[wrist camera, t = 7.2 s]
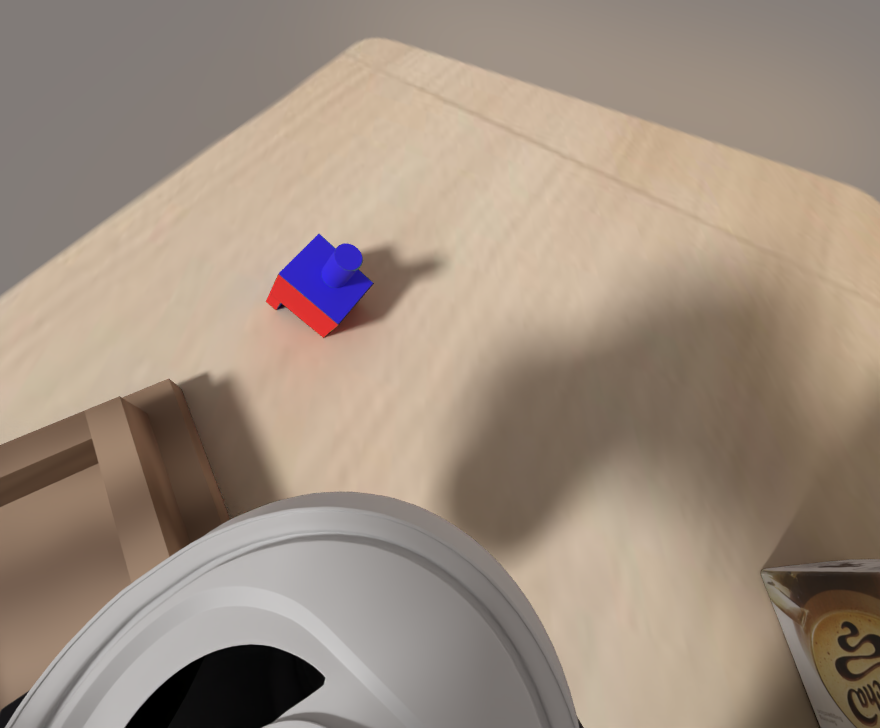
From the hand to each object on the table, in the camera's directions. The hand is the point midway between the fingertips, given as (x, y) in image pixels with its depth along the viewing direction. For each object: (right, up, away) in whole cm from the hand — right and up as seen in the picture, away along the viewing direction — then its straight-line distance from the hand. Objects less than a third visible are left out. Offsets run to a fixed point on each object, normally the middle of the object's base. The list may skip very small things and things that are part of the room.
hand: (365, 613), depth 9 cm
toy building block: (-6, +9, +19) cm, 22 cm away
